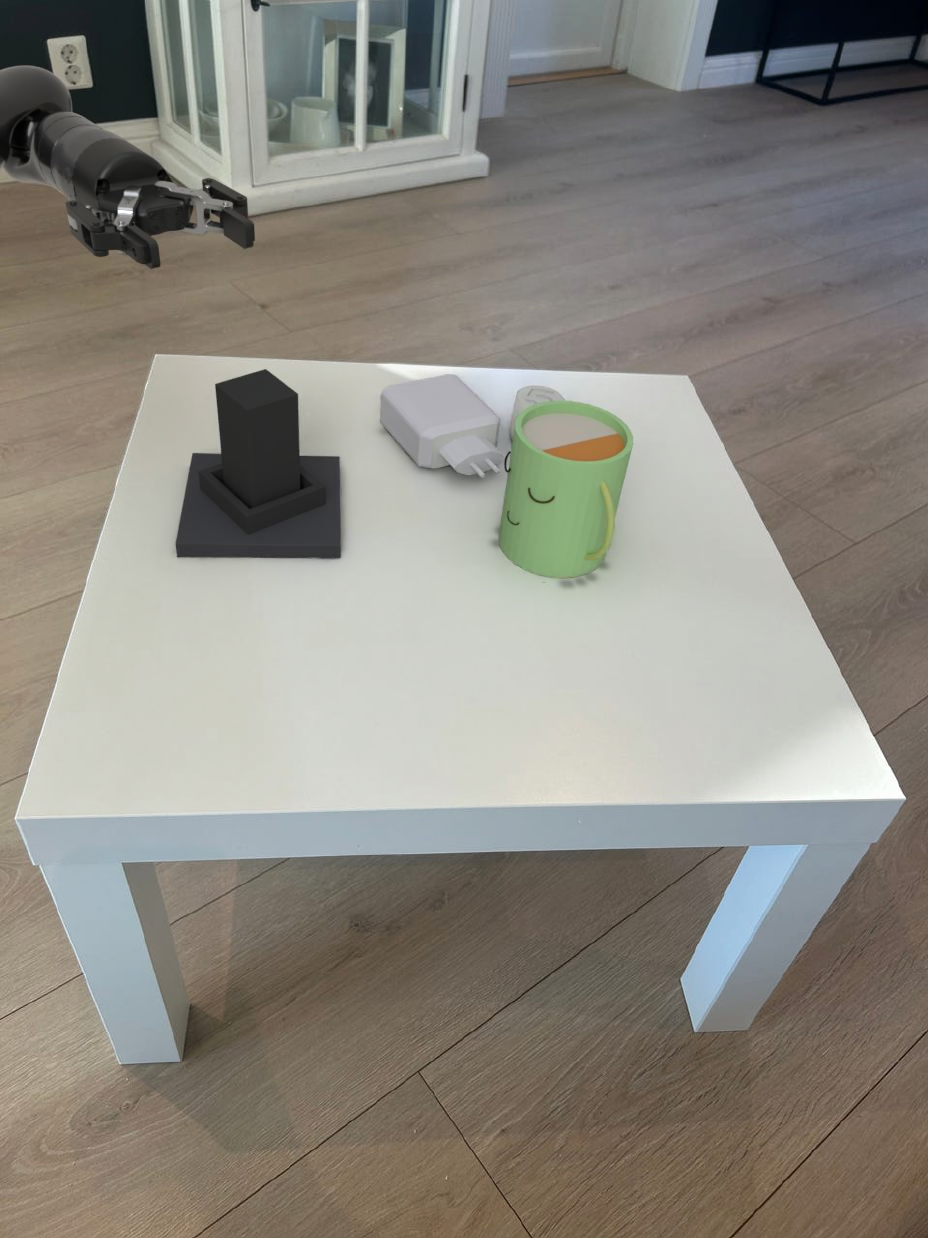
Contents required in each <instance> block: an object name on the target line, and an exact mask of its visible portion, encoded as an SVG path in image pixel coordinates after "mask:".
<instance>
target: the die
mask: <svg viewBox="0 0 928 1238" xmlns="http://www.w3.org/2000/svg"><path fill="white" fill-rule="evenodd" d="M548 401H566V399H565V398H564V396H563V395H562V394H561V392H559V391H557V390H556V389H554V388H551V387H548V386H545V385H528V386H525V387H522V388H521V389H519V390H517V392H516V394H515V398H514V402H513V407H512V413H511V418H510V424H509V432H508V436H509V438H510V440H511V441H513V435H514V428H515V422H516V419H517V417H518V416H519V414H520V413H521V412H522V411H523V410H525V409H526V408H528V407H530V406H532V405H535V404H538V403H542V402H548Z"/></svg>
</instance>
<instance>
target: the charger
mask: <svg viewBox="0 0 928 1238" xmlns="http://www.w3.org/2000/svg"><path fill="white" fill-rule="evenodd" d="M379 404H380V405H379V422H380V423H381V425H383V427H384V428H385V429H386V430H387V431H388V432H389V434H390V435H391V436H392V437H393V439H395V441H396V442H397V443H398V444H399V445H400V446H401V448H402V449H403V450H404V451H405V453H407V454H408V456H409V457H410V458H411V459H412V461H413V462H415V464H416V465H417V466H418V467H419V468H424V469H440V468H443V467H444V468H445V467H448V466H451V467H452V468H453V470H454V471H456V473H458V474H462V475H465V476H472V475H478V476H479V477H481V478H484V477H485V476H486V473H485V472H489V471H490V470H492V471H493V472H494V473H495V474H500V473H501V469H500V468H499V467H498V466H497V465H499V464H501V462H502V461H503V460H505V456H504V455H503V454H502V453H501V451H500V450H499V449H497V446H498V442H499V434H500V428H501V417H500V416H499V415H498V414H497V413H496V412H495V411H494V409H492V408H491V407H490V406H488V404H487V403H486V402H485V401H484V400H483V399H481V398H480V396H478V394H477V393H475V392H474V391H473V390H472V389H471V388H470V387H469V386H468V385H467V384H466V382H464V381H463V379H461V378H460V377H459V376H458V375H456V374H451V373H448V374H442V375H437V376H432V377H431V376H430V377H426V378H421V379H416V380H415V379H414V380H410V381H404V382H399V383H395V384H391V385H389V386H386V387H385V388H384V389H383V390H382V391H381V393H380V403H379Z"/></svg>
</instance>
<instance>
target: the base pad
mask: <svg viewBox="0 0 928 1238" xmlns="http://www.w3.org/2000/svg"><path fill="white" fill-rule="evenodd" d="M340 458H341V457H340V456H339V455H302V454H300V490H299V491H297V492H294V493H291V494H289V495H286V496H283V497H281V498H278V499H276V500H273V501H270V502H268V503H265V504H262V505H260V506H257V507H254V508H252V509H249V508H248V507H247V506H246V505H245V504H244V503H242V502H241V501H240V500H239V499H238V498H237V497H236V496H235V495H234V494H233V493H232V492H231V491H230V490H228V489H227V488H226V487H225V486H224V479H223V468H222V457H221V453H214V452H213V453H211V452H210V453H209V452H207V453H206V452H192V454H191V459H190V464H189V468H188V469H189V470H188V475H187V480H186V485H185V491H184V496H183V500H182V506H181V513H180V517H179V523H178V529H177V534H176V538H175V548H176V549H175V551H176V556H177V558H259V559H261V558H264V559H265V558H267V559H270V558H271V559H273V558H275V559H341V557H342V554H341V553H342V540H341V539H342V538H341V537H342V535H341V534H342V532H341V531H342V530H341V529H342V527H341V526H342V525H341V466H340V465H341V464H340V463H341V461H340V460H341V459H340Z"/></svg>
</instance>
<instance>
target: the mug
mask: <svg viewBox="0 0 928 1238" xmlns="http://www.w3.org/2000/svg"><path fill="white" fill-rule="evenodd" d="M511 441H512V440H511ZM633 447H634V435H633V432H632V430H631V429H630V427H629V426H628V425H627V423H625V421H623V420H622V419H621V418H620V417H618V416H617V415H616V414H614V413H612V412H610V411H608V410H606V409H604V408H602V407H600V406H596V405H593V404H589V403H585V402H581V401H572V400H565V401H548V402H542V403H538V404H535V405H532V406H530V407H528V408H526V409H525V410H523V411H522V412H521V413H520V414H519V416H518V417H517V419H516V422H515V428H514V435H513V441H512V443H511V449H510V450H508V452H507V453H506V455H505V456H504V463H503V466H504V467H503V468H504V471H505V472H506V474H507V475H506V483H505V489H504V496H503V502H502V508H501V509H502V510H501V516H500V524H499V529H498V530H499V531H498V545H499V548H500V549H501V551H502V552H503V554H504V555H505V556H506V557H507V559H508V560H510V562H512V563H513V564H514V565H515V566H518V567H519V568H521V569H523V570H525V571H527V572H530V573H531V574H534V575H538V576H541V577H547V578H554V579H572V578H577V577H581V576H584V575H588V574H590V573H592V572H593V571H595V570H596V569H598V568H599V567H600V566H601V565H602V563H603V562H604V561H605V558H606V555H607V552H608V551H609V549H610V547H611V544H612V542H613V538H614V535H615V534H614V533H615V524H616V523H615V521H616V520H615V519H616V515H617V511H618V507H619V503H620V499H621V494H622V490H623V487H624V483H625V478H626V475H627V470H628V466H629V462H630V458H631V454H632V450H633ZM508 458H509V463H508V467H507V462H508Z"/></svg>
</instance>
